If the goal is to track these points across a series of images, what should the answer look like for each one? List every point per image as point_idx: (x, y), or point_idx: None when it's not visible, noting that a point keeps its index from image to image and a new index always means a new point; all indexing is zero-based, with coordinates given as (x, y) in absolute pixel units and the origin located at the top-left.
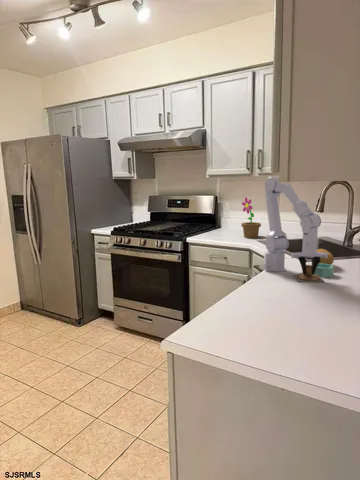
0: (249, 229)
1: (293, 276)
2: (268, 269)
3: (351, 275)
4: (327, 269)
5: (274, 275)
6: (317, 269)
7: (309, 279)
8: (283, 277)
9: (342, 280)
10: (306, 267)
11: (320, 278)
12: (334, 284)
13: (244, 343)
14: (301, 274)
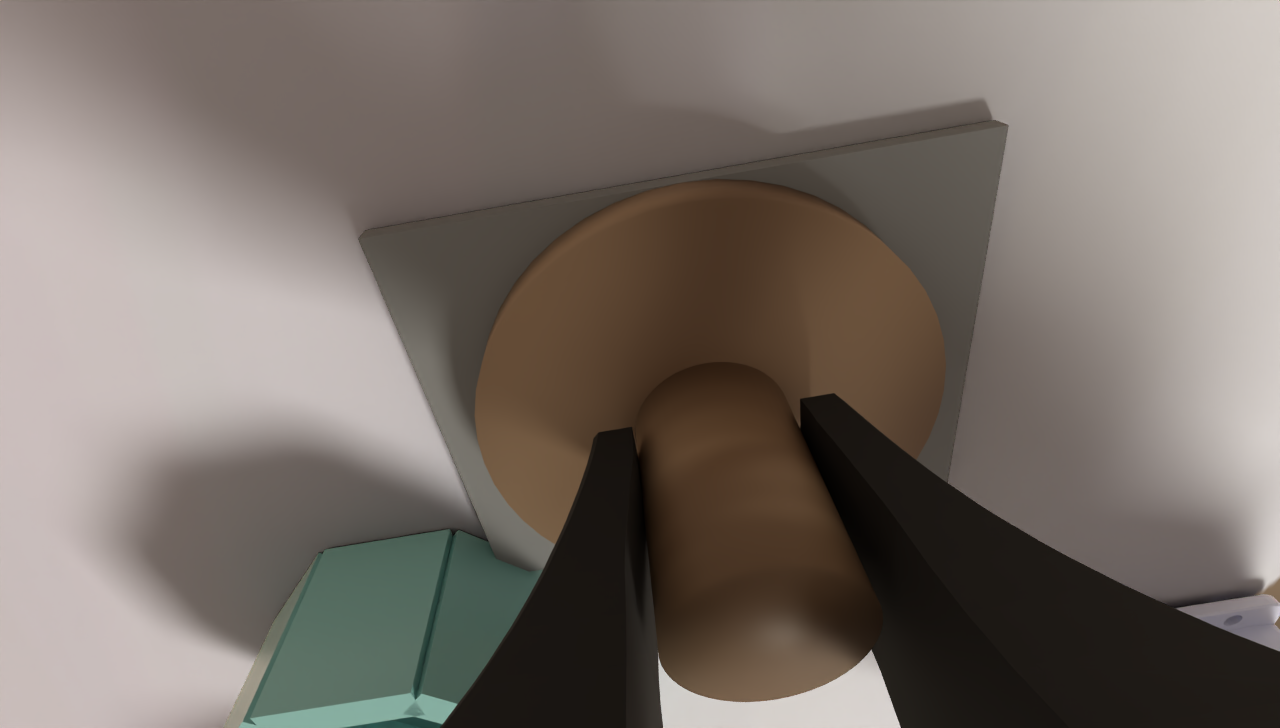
0: None
1: (945, 451)
2: (1234, 632)
3: (5, 677)
4: (306, 682)
5: (1249, 448)
6: None
7: (721, 194)
8: (1146, 376)
9: (38, 431)
10: (842, 547)
11: (463, 416)
12: (102, 104)
13: None
14: None
